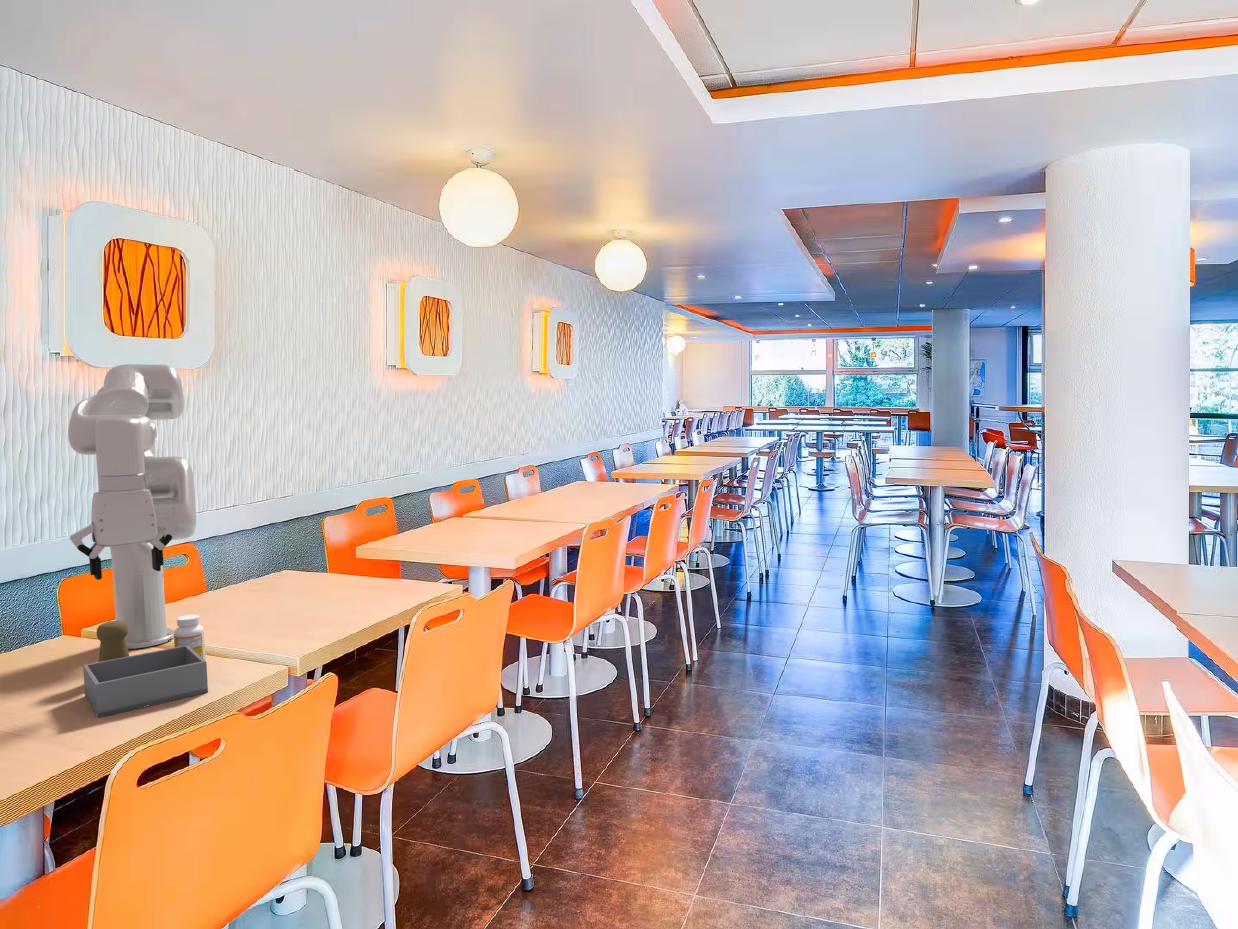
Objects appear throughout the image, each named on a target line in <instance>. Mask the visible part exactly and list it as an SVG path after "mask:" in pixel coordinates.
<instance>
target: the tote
mask: <svg viewBox="0 0 1238 929" xmlns="http://www.w3.org/2000/svg"><path fill="white" fill-rule="evenodd" d="M207 665H208V664H207V661H206V659H205V660H204V659H203V658H202V657H201V656H200V655H198V654H197V653H196V652H195V651H194V650H193V649H192V648H190V647H189V646H188V645H185V646H180V647H170V648H165V649H160V650H159V649H158V650H154V651H150V652H145V653H138V654H134V655H129V656H128V657H123V658H118V659H112V660H107V661H102V662H99V661H97V662H93V663H88V664H83V665H82V670H83V684H84V697H85V698H86V700H87V702H88V704H89V705H90V707H91V708H92V710H93V712H94V713H95V715H96V717H97V718H98V719H99V718H102V717H103V718H104V717H107V716H111V715H116V714H120V713H125V712H128V711H129V712H130V711H132V710H138V709H141V708H140V707H143V708H145V707H144V706H147V705H151V706H154V704H155V705H159V704H158V703H160V704H162V703H161V702H164V703H167V702H166V701H168V702H170V701H169V700H173V699H177V700H181V699H185V698H189V697H194V696H198V695H202V694H207V693H209V683H208V667H207ZM173 701H174V700H173ZM147 707H148V706H147ZM137 708H138V709H137Z"/></svg>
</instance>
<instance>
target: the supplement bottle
mask: <svg viewBox="0 0 1238 929" xmlns="http://www.w3.org/2000/svg"><path fill="white" fill-rule="evenodd" d="M200 622H201V620H200V616H199V614H185V615H181V616H178V617H177V618H176V625H177V626H178V627H177V628H176V629H174V638H173V641H174V644H173V646H174V647H173V648H175V647H180V646H185V645H188V646H189V647H190V648H192V649H193V650H194V651H195V652H196V653H197V654H198V655H200V656H201V657H202V658H203V659H204V660H205V661H206V644H205V630H204V627H203V626H202V625H200Z"/></svg>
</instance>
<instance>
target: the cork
mask: <svg viewBox="0 0 1238 929" xmlns="http://www.w3.org/2000/svg"><path fill="white" fill-rule="evenodd" d="M127 634H128V626H127V624H126V623H125V622H123V621H116V620H111V621H107V622H103V623H101V624H99V625H98V627H97V628H96V636H97V637H96V638H97V639H98V640H99V641H100V644H99V645H100V646H99V654H98V655H99V656H98V662H102V661H107V660H112V659H118V658H123V657H128V656H130V652H129V649H128V648H127V643H126V639H125V637H126V636H127Z"/></svg>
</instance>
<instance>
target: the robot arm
mask: <svg viewBox="0 0 1238 929" xmlns="http://www.w3.org/2000/svg"><path fill="white" fill-rule="evenodd" d="M181 379H182V378H181V376H180V374H179V373H178V372H177V369H175V368H174V367H172V366H171V365H167V364H146V363H145V364H143V363H142V364H141V363H138V364H136V363H133V364H131V363H129V364H121V365H120V364H119V365H116V366H113V367H112V368H111V369H109V370H108V371H107V372H106V374H105V377H104V380H103V386H102V387H101V388H100V389H98V390H97V392H96V394H95V395H92V396H90V397H87V398H86V399H83V400H82V401H80V402H78V403H77V404H76V405H75V406H74V408H73V409H72V412H71V414H70V418H69V419H70V420H69V422H68V423H69V424H68V428H67V432H68V433H67V434H68V435H67V436H68V443H69V445H70V447H71V448H72V450H73V451H74V452H75V453H78V455H79V454H80V455H88V456H89V455H90V456H93V455H95V457H96V460H95V461H96V471H97V483H98V484H97V485H98V486H97V487H98V488H97V489H98V491H95V492H93V495H92V499H91V501H92V502H91V512H90V513H91V514H90V515H91V516H90V520H91V521H90V523H91V524H89V525H87V526H85V527H83V528H81V529H80V530H78V531H76V532H74V533H73V534H71V535H70V536H69V540H70V541H71V543H72V544H73V546H74V547H75V548H76V549H77V550H78V551H79V552H80V553H82V554H83V555H85V556H86V557H88V560H89V561H88V562H89V573H90V575H91V576H93V577H94V579H96V580H97V581H100V580H102V579H103V572H102V559H101V558H100V556H99V555H100V554H101V553H102V551H103V550H104V549H105V548H108V547H109V550H110V558H111V566H112V569H111V570H112V582H113V583H112V584H113V597H114V611H115V613H114V614H115V621H123V622H125V623H126V624H127V626H128V634H127V636H126V637H125V639H126V643H127V648H128V650H135V649H142V648H143V649H145V648H149V647H154V646H157V645H162V644H164V643H167V642H169V641H170V640H169V639H171V638H173V637H174V631H175V629H174V630H173V629H172V628H170V627H167V616H166V613H167V612H166V599H165V598H166V597H165V582H164V581H165V580H164V550H165V548H166V546H167V545H168V544H169V543H170V542H171V541H174V540H175V541H176V540H183V539H184V540H185V539H188V538H190V537H191V536H193V535H194V534H195V532H196V529H197V509H196V495H195V494H196V493H195V480H194V479H195V478H194V473H193V469H192V466H191V464H190V462H189V460H187V459H186V458H184V457H181V456H156V442H157V437H158V432H157V427H156V424H155V423H154V422H153V420H154V421H156V420H157V421H158V420H159V421H161V420H163V421H164V420H165V421H166V420H174V419H177V418H179V417H180V416H181V415H182V414H183V410H184V408H185V407H184V406H185V400H184V389H183V384H182V380H181ZM90 535H91V541H92V542H93V544H92V545H91V547H88V546H86V545H85V543H84V542H83V539H84V538H85V537H87V536H90ZM149 544H151V545H152V546H153V548H152V547H151V546H150V545H149ZM173 639H174V638H173ZM168 640H169V641H168ZM171 640H172V639H171Z"/></svg>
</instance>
